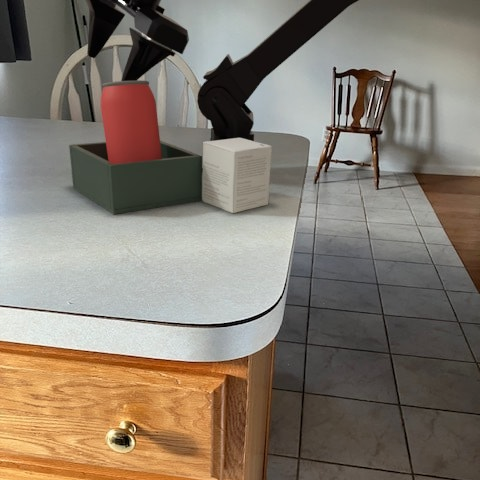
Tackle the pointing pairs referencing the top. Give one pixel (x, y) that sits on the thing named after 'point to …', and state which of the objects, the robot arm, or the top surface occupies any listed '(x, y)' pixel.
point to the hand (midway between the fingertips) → (106, 71)
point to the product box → (236, 174)
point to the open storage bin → (136, 178)
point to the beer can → (130, 122)
